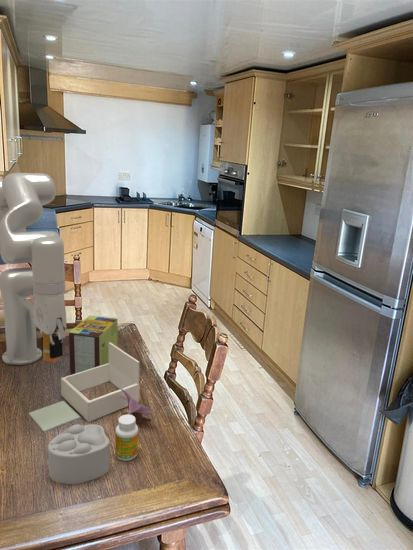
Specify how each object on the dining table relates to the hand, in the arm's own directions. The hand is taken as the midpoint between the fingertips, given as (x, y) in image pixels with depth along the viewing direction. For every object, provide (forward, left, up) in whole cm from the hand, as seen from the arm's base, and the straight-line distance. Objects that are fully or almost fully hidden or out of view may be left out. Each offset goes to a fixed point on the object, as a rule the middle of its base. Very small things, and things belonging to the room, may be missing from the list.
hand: (52, 352), depth 112 cm
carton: (0, +14, -19) cm, 23 cm away
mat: (0, 0, -19) cm, 19 cm away
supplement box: (0, 0, -2) cm, 2 cm away
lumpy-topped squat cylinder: (+22, -4, -19) cm, 30 cm away
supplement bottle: (+25, +7, -19) cm, 32 cm away
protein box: (-18, +22, -19) cm, 34 cm away
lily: (+15, +16, -19) cm, 29 cm away
